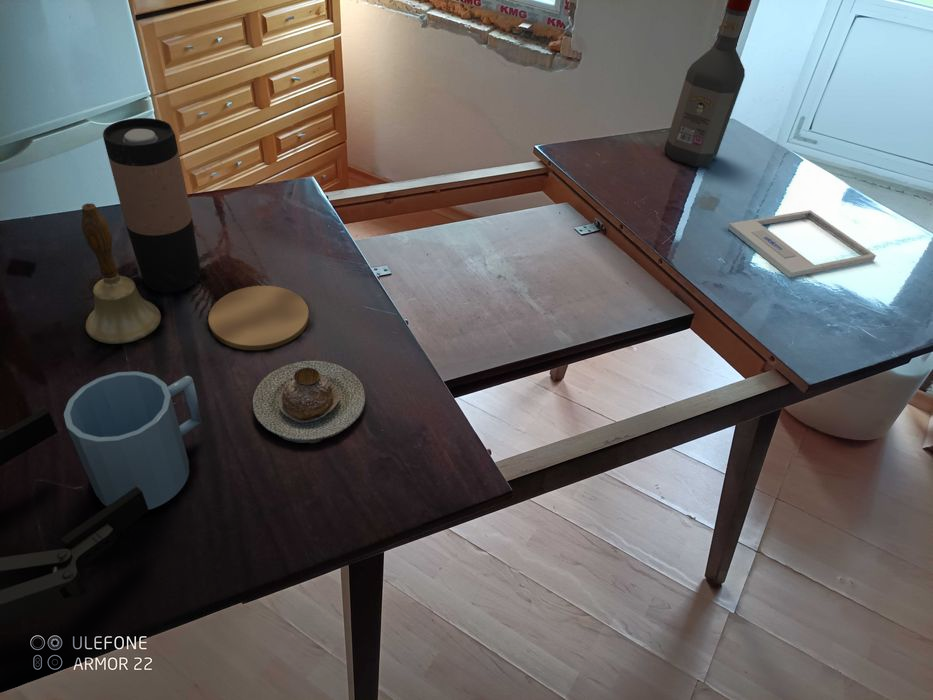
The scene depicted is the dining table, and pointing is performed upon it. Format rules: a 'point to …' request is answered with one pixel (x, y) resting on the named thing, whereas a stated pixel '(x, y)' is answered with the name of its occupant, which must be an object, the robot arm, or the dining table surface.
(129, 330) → the hand bell
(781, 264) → the photo frame
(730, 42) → the liquor
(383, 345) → the dining table surface
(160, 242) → the travel mug
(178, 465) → the mug
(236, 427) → the dining table surface
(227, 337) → the coaster
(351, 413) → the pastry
